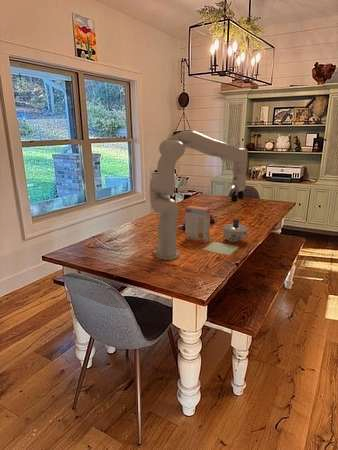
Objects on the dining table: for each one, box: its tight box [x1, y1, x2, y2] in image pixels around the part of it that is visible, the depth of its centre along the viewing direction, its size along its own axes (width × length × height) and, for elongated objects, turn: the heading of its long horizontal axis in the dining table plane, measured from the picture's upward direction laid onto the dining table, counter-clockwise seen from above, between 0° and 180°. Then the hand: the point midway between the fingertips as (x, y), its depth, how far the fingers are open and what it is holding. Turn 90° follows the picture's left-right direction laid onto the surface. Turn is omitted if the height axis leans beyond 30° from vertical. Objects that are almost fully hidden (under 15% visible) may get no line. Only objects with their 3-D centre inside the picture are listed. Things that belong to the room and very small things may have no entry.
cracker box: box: [184, 204, 211, 244], centre depth 190 cm, size 14×6×21 cm, turn 54°
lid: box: [223, 217, 248, 233], centre depth 188 cm, size 14×14×6 cm
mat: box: [202, 241, 240, 256], centre depth 180 cm, size 16×15×1 cm
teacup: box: [222, 227, 249, 243], centre depth 190 cm, size 15×12×8 cm
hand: (237, 200), depth 184 cm, fingers open, 9 cm apart
